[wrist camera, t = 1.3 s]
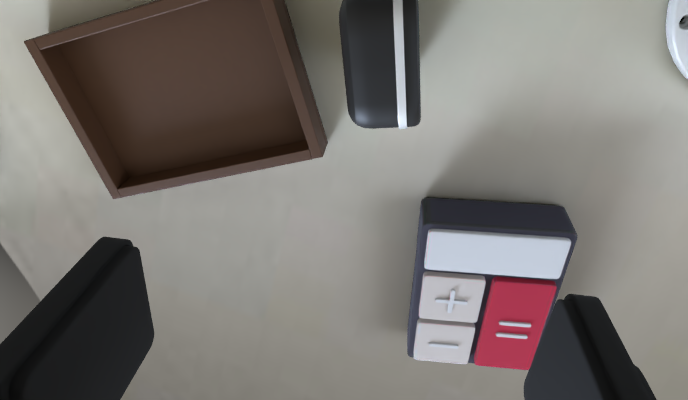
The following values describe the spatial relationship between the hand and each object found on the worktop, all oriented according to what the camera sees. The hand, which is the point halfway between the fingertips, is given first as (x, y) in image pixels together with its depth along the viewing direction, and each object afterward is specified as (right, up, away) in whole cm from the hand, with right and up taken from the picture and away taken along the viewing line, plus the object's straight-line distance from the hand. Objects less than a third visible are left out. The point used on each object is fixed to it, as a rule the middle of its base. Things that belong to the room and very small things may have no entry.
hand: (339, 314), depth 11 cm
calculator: (+12, -4, +31) cm, 33 cm away
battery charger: (+3, +14, +21) cm, 26 cm away
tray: (-11, +11, +25) cm, 29 cm away
